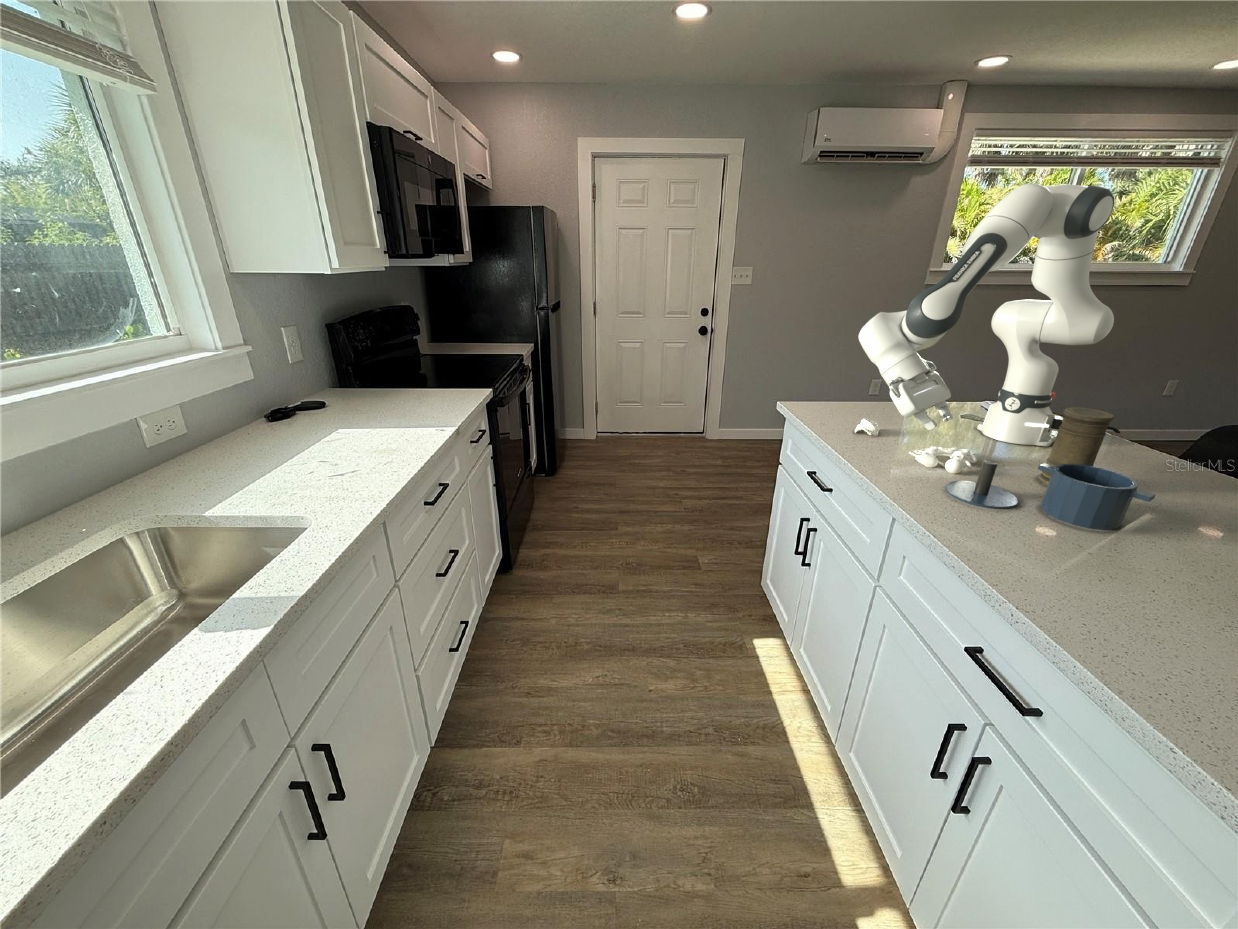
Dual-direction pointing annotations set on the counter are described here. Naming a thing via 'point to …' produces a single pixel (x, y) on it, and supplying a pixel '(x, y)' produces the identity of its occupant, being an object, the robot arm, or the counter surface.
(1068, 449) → the container
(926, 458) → the tangled rod sculpture
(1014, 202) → the robot arm
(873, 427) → the white arched lump
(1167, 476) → the counter surface
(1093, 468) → the pot
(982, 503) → the lid
